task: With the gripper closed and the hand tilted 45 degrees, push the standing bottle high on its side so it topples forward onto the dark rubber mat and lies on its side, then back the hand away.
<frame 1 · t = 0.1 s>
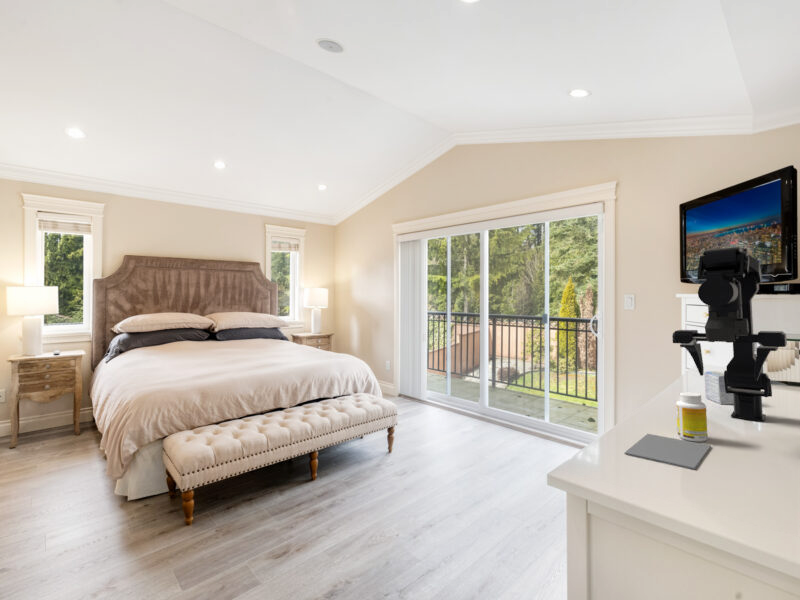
hand: (728, 377, 87), 15 cm above the dresser, tool pointing down, fingers open, 9 cm apart
supplement bottle: (692, 439, 92), on the dresser
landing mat: (668, 450, 85), on the dresser
medicine box: (720, 402, 123), on the dresser
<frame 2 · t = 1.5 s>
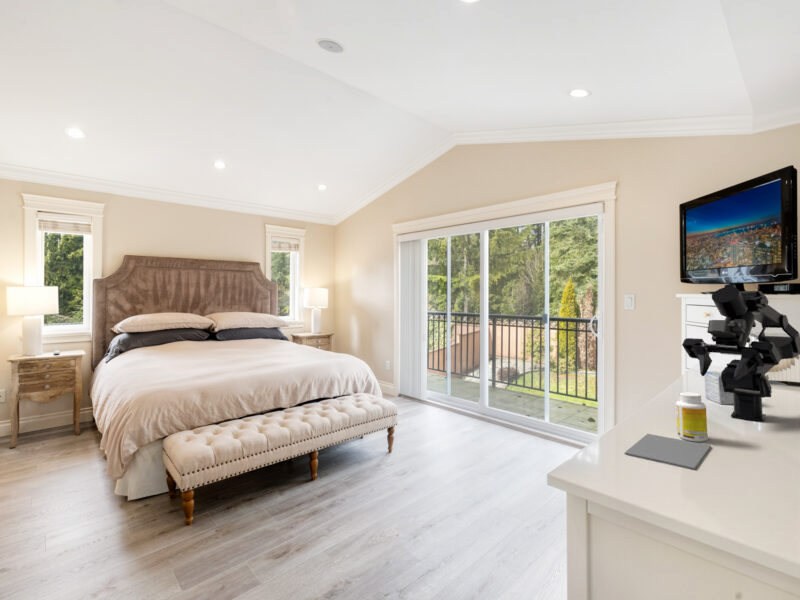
hand: (718, 376, 98), 13 cm above the dresser, tool tilted 45°, fingers open, 7 cm apart
nothing on the dresser moved.
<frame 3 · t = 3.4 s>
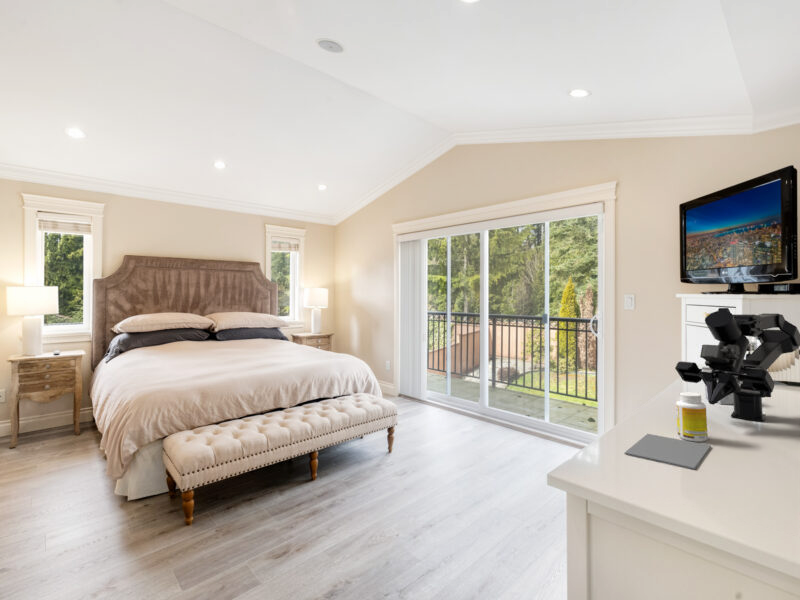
hand: (710, 403, 96), 7 cm above the dresser, tool tilted 45°, fingers closed
nothing on the dresser moved.
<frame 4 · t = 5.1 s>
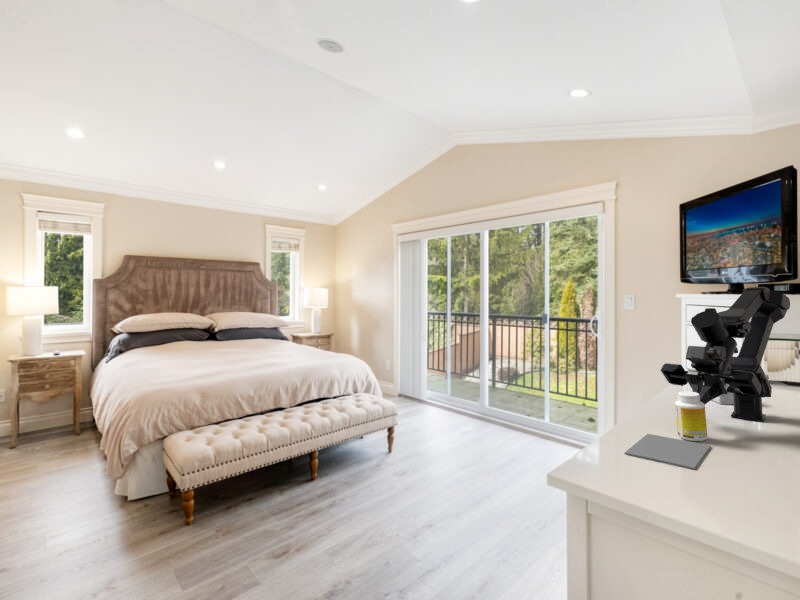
hand: (696, 406, 93), 7 cm above the dresser, tool tilted 45°, fingers closed
nothing on the dresser moved.
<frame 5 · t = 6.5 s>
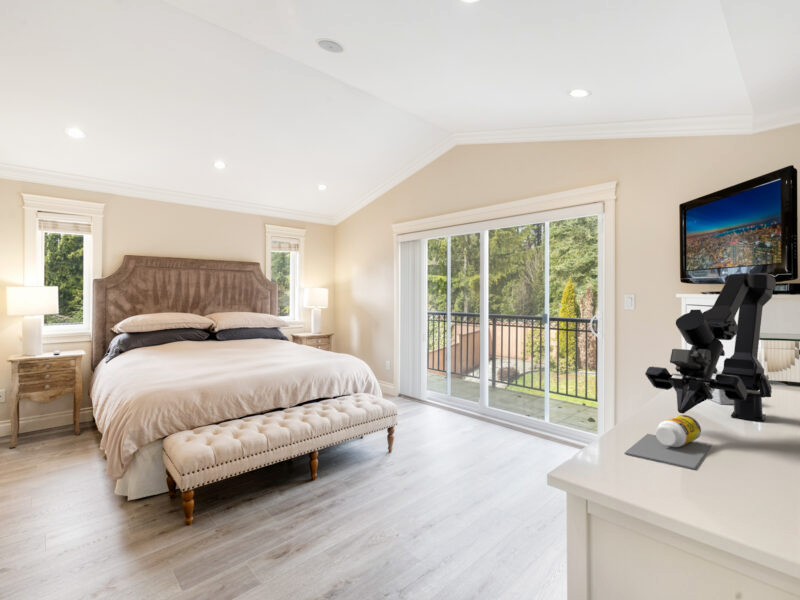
hand: (680, 412, 89), 7 cm above the dresser, tool tilted 45°, fingers closed
supplement bottle: (688, 426, 90), point 3 cm above the dresser, touching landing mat
everything else where it was.
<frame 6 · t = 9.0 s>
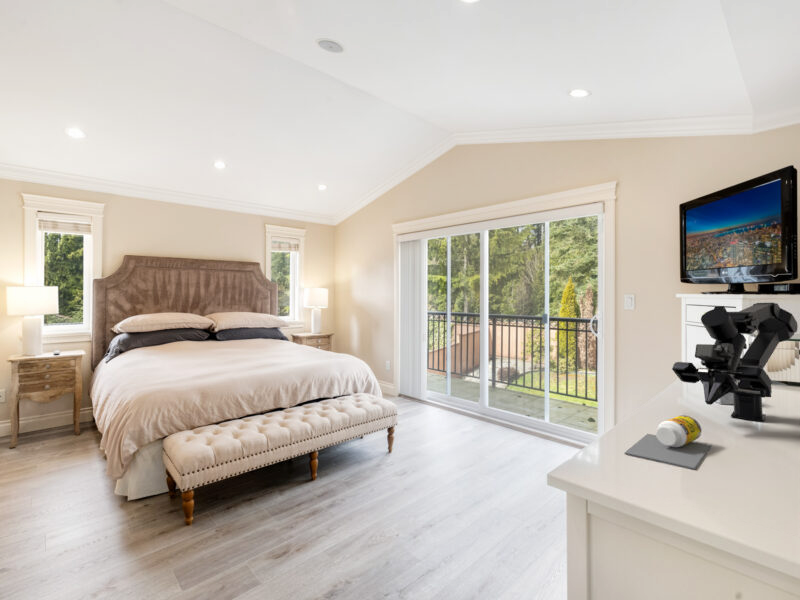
hand: (708, 403, 95), 7 cm above the dresser, tool tilted 45°, fingers closed
nothing on the dresser moved.
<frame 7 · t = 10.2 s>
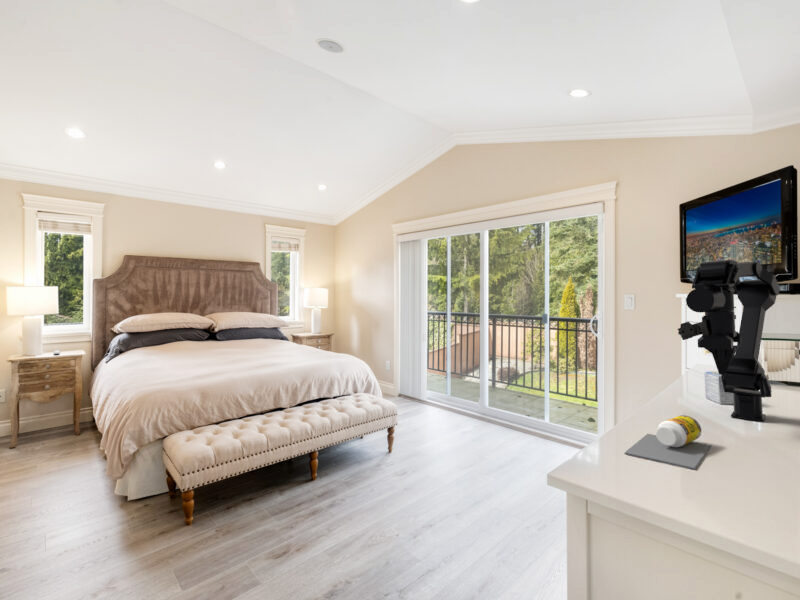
hand: (722, 374, 99), 13 cm above the dresser, tool pointing down, fingers closed
nothing on the dresser moved.
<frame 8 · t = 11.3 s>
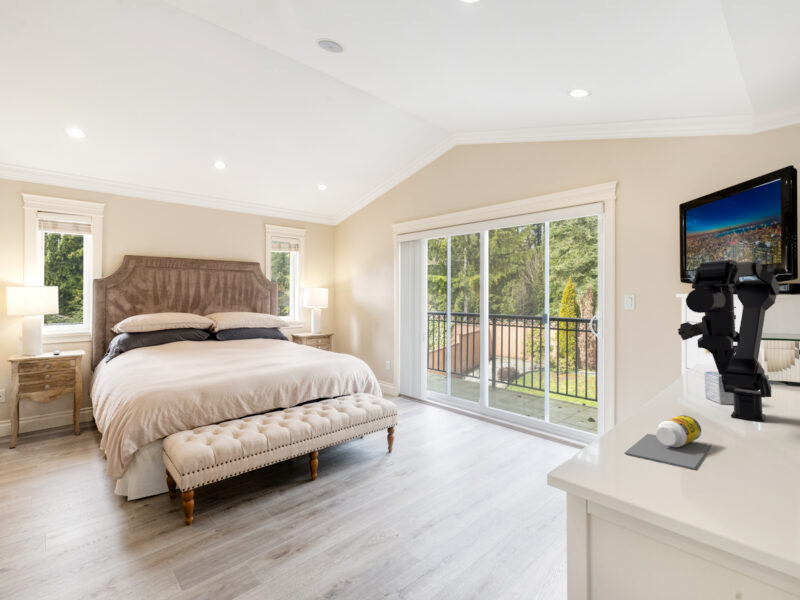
hand: (722, 374, 99), 13 cm above the dresser, tool pointing down, fingers closed
nothing on the dresser moved.
at the end: supplement bottle tilted 90°; supplement bottle touching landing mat; supplement bottle inside the target area (5.8 cm from its centre), point 3.2 cm above the dresser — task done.
